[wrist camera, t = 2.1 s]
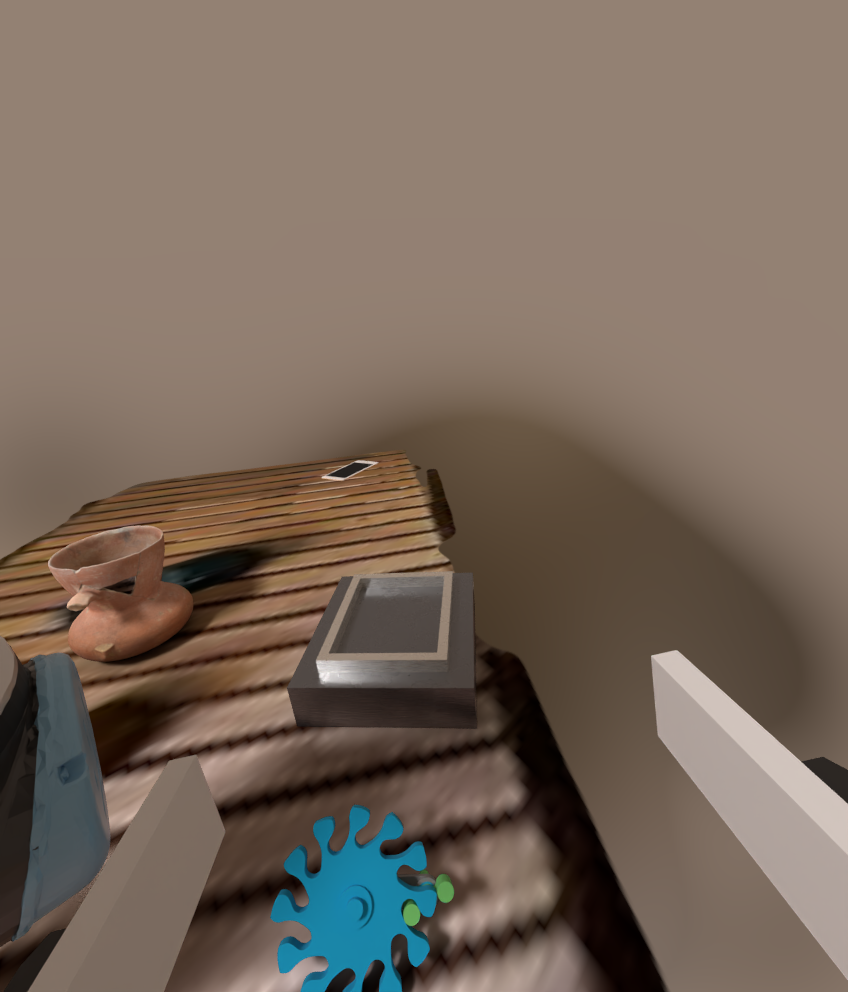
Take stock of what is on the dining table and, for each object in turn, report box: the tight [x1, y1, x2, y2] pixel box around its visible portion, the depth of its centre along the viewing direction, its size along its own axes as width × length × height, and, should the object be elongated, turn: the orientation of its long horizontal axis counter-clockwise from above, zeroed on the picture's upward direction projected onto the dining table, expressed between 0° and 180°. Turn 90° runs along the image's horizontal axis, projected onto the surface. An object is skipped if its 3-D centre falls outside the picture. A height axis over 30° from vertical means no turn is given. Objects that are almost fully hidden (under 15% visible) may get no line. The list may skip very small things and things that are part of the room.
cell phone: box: [322, 460, 378, 481], centre depth 125 cm, size 8×16×1 cm, turn 149°
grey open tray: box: [287, 571, 477, 728], centre depth 52 cm, size 18×20×6 cm
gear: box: [270, 804, 454, 992], centre depth 29 cm, size 11×6×10 cm
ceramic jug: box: [48, 526, 193, 662], centre depth 59 cm, size 18×14×14 cm
